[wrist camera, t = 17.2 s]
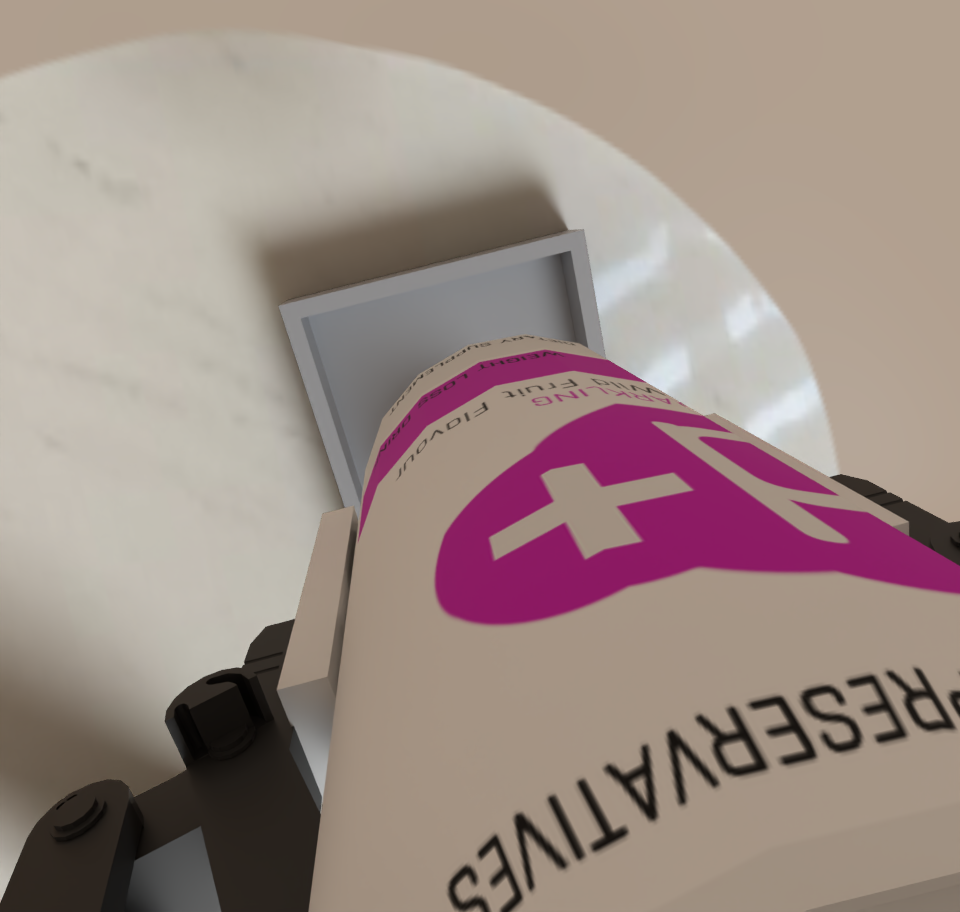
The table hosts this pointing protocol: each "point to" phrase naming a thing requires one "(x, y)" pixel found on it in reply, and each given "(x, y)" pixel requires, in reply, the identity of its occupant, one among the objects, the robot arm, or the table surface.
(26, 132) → the table surface
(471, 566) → the supplement can
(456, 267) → the tray
